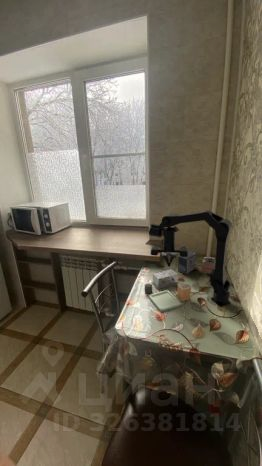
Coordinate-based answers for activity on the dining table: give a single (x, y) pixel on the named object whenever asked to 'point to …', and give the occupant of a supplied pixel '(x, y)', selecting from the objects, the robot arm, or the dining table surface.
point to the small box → (187, 263)
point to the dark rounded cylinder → (148, 288)
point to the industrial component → (182, 247)
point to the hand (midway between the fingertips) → (169, 266)
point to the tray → (164, 300)
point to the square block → (184, 291)
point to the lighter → (208, 265)
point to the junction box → (165, 279)
